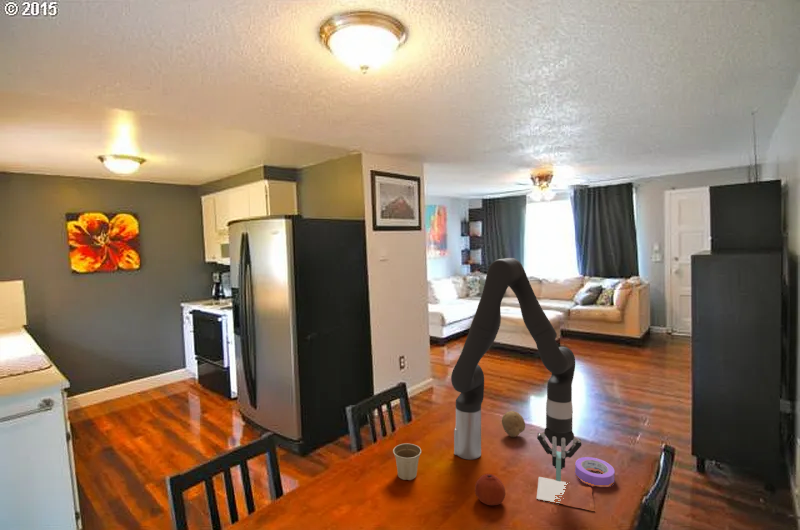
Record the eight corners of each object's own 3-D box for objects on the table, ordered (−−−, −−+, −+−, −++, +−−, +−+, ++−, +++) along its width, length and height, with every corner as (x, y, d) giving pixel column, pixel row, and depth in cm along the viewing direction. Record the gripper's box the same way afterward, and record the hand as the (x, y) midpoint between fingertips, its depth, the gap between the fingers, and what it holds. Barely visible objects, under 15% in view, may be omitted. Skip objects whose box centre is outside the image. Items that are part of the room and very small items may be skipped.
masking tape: (619, 490, 128) (619, 478, 127) (579, 486, 130) (579, 474, 130) (608, 469, 139) (608, 458, 139) (571, 466, 141) (571, 455, 141)
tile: (555, 480, 122) (556, 459, 122) (556, 470, 129) (556, 451, 130) (560, 481, 121) (561, 460, 122) (560, 471, 128) (561, 451, 129)
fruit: (472, 492, 127) (472, 467, 127) (501, 492, 127) (501, 468, 126) (477, 511, 118) (477, 485, 118) (508, 511, 118) (508, 485, 118)
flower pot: (425, 471, 139) (425, 446, 138) (414, 486, 131) (414, 460, 130) (400, 465, 143) (400, 441, 142) (388, 479, 135) (388, 454, 134)
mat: (536, 499, 123) (536, 498, 123) (538, 477, 134) (538, 476, 134) (595, 512, 117) (595, 511, 117) (592, 488, 128) (592, 487, 128)
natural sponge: (515, 429, 168) (515, 405, 168) (530, 438, 160) (530, 414, 160) (497, 433, 165) (497, 409, 164) (511, 443, 157) (511, 418, 156)
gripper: (535, 414, 124) (534, 469, 125) (583, 421, 119) (583, 478, 120) (536, 405, 131) (536, 457, 132) (582, 411, 126) (582, 465, 127)
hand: (558, 467), depth 126 cm, fingers closed on tile, 1 cm apart
